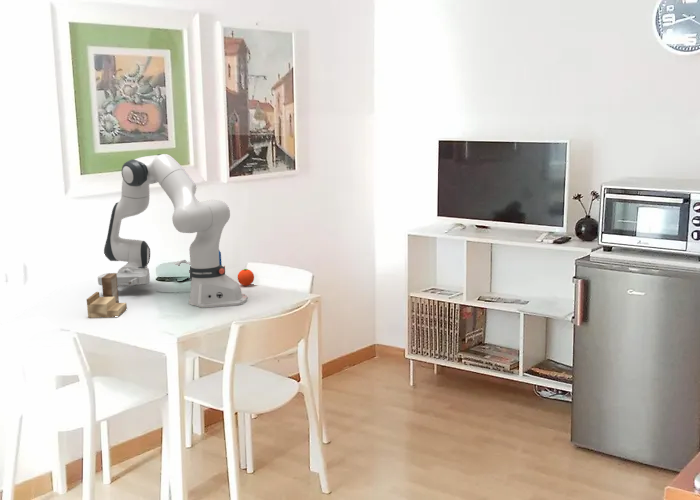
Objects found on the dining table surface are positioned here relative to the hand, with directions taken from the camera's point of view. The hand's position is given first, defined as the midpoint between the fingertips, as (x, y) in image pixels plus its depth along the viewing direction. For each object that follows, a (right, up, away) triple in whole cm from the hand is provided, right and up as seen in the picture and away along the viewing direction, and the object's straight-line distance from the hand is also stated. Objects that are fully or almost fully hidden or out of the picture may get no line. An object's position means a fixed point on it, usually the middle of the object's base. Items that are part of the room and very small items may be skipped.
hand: (118, 283), depth 316 cm
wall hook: (+22, 0, +30) cm, 37 cm away
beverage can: (+32, +1, +36) cm, 48 cm away
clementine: (+48, -2, +19) cm, 52 cm away
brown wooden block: (0, -8, -9) cm, 12 cm away
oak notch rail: (+1, -10, -19) cm, 22 cm away
